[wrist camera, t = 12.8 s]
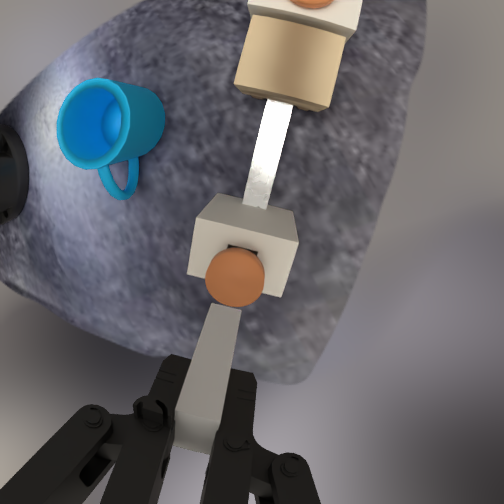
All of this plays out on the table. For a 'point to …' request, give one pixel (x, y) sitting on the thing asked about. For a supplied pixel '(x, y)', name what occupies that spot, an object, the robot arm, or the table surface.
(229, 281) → the plunger
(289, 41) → the block
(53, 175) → the table surface
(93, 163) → the mug
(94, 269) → the table surface
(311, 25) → the cabinet
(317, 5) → the plunger
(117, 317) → the table surface
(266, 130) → the rail
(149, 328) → the table surface
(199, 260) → the cabinet
